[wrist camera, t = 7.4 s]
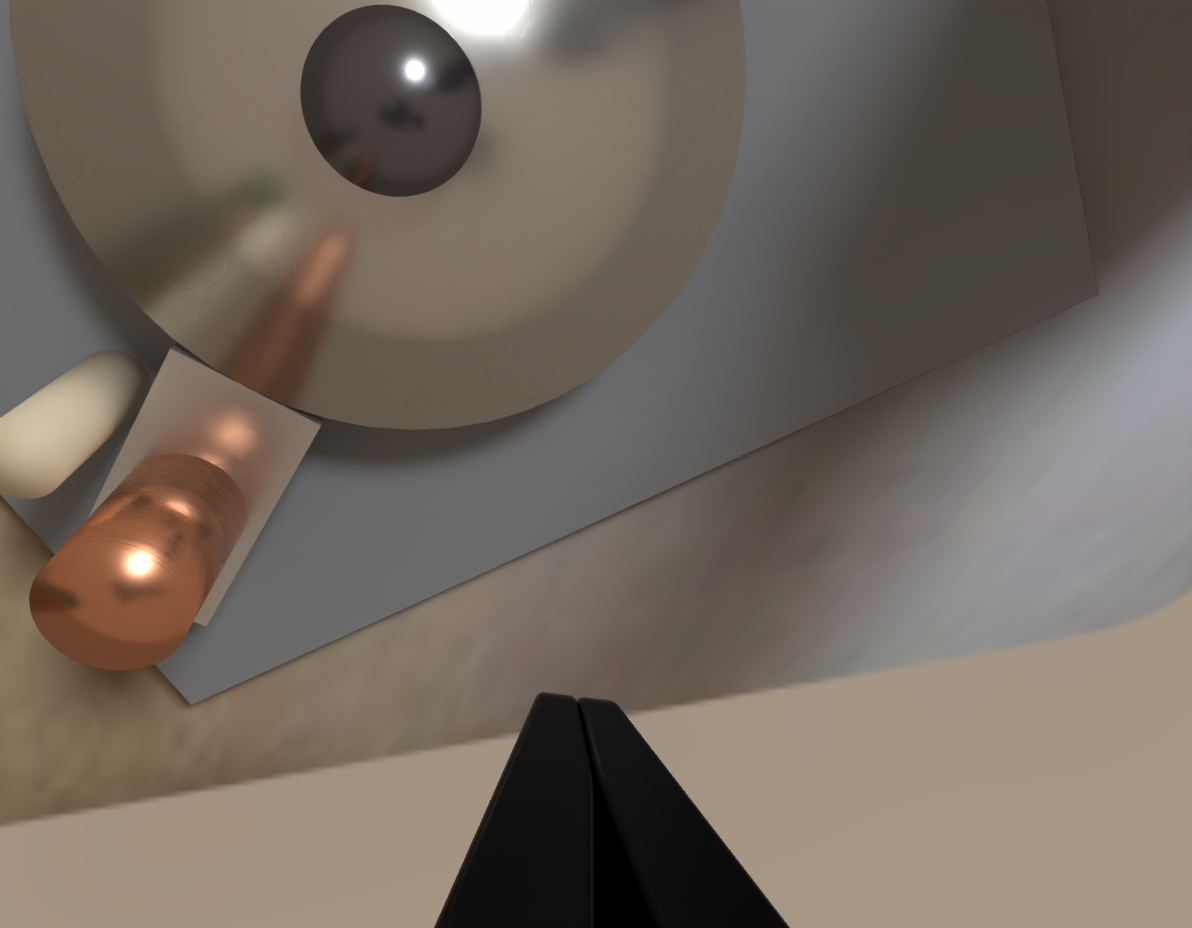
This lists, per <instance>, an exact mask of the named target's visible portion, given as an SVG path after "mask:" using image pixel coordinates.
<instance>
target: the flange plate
mask: <svg viewBox="0 0 1192 928" xmlns="http://www.w3.org/2000/svg"><path fill="white" fill-rule="evenodd" d="M9 25H10V32H11V39H12V46H13V53H14V60H15V67H16V74H17V80H18V84H19V87H20V91H21V95H22V98H23V102H24V106H25V110H26V113H27V117H28V121H29V124H30V128H31V131H32V134H33V136H34V139H35V141H36V144H37V146H38V149H39V151H40V154H41V156H42V159H43V162H44V164H45V167H46V169H47V172H48V174H49V177H50V179H51V181H52V183H53V185H54V187H55V189H56V190H57V192H58V194H59V196H60V198H61V200H62V202H63V204H64V205H65V207H66V209H67V211H68V213H69V215H70V217H71V218H72V220H73V222H74V224H75V226H76V227H77V229H78V230H79V232H80V233H81V235H82V236H83V237H84V239H85V240H86V242H87V243H88V245H89V246H90V248H91V249H92V250H93V252H94V253H95V255H96V256H97V258H98V259H99V261H100V262H101V264H102V265H103V266H104V268H105V269H106V270H107V271H108V272H109V274H110V275H111V276H112V277H113V278H114V279H115V281H116V282H117V283H118V284H119V285H120V286H121V288H122V289H123V290H124V291H125V292H126V293H127V294H128V296H129V297H130V298H131V299H132V300H133V301H134V303H135V304H136V305H137V306H138V307H139V308H140V309H141V310H143V311H144V312H145V313H146V314H147V315H148V316H149V317H150V318H151V319H152V320H153V321H154V322H155V323H157V324H158V325H159V326H160V327H161V328H162V329H163V330H164V331H165V332H166V333H167V334H168V335H169V336H171V337H172V338H173V339H174V340H176V341H177V343H176V344H175V345H174V346H172V347H171V348H170V350H169V352H168V354H167V356H166V358H165V360H164V362H163V364H162V366H161V368H160V371H159V373H158V375H157V377H156V379H155V381H154V383H153V385H152V387H151V389H150V391H149V393H148V395H147V397H146V399H145V401H144V404H143V406H142V408H141V410H140V412H139V414H138V416H137V418H136V420H135V422H134V424H133V426H132V428H131V430H130V432H129V434H128V437H127V439H126V441H125V443H124V445H123V447H122V449H121V451H120V453H119V455H118V457H117V459H116V461H115V463H114V465H113V467H112V469H111V472H110V474H109V476H108V478H107V480H106V482H105V484H104V486H103V488H102V490H101V492H100V494H99V496H98V498H97V500H96V502H95V505H94V507H93V509H92V511H91V513H90V515H89V517H88V519H87V520H86V521H85V522H84V523H83V525H82V526H81V527H80V528H79V529H78V530H77V531H76V532H75V533H74V534H73V535H72V537H71V538H70V539H69V540H68V541H67V542H66V543H65V544H64V545H63V546H62V547H61V549H60V550H59V551H58V552H57V553H56V554H55V555H54V556H53V557H52V558H51V560H50V561H49V562H48V563H47V564H46V565H45V566H44V567H43V568H42V569H41V571H40V572H39V573H38V574H37V576H36V578H35V579H34V581H33V584H32V587H31V590H30V596H29V598H30V610H31V614H32V617H33V620H34V622H35V624H36V626H37V628H38V629H39V631H40V632H41V633H42V635H43V636H44V637H45V638H46V639H47V640H48V642H49V643H50V644H52V645H53V646H54V647H55V648H56V649H57V650H59V651H60V652H62V653H63V654H65V655H66V656H68V657H70V658H72V659H73V660H76V661H78V662H80V663H83V664H85V665H88V666H91V667H95V668H100V669H105V670H113V671H129V670H137V669H142V668H146V667H149V666H152V665H155V664H157V663H159V662H161V661H163V660H164V659H166V658H167V657H169V656H170V655H171V654H172V653H173V652H174V651H175V650H176V649H177V648H178V647H179V646H180V644H181V643H182V641H183V639H184V637H185V636H186V634H187V632H188V630H189V628H190V627H191V625H192V623H193V622H196V623H198V624H201V625H203V626H205V627H206V626H207V625H208V623H209V621H210V619H211V618H212V616H213V614H214V612H215V611H216V609H217V607H218V605H219V604H220V602H221V600H222V598H223V597H224V595H225V593H226V591H227V590H228V588H229V586H230V584H231V583H232V581H233V579H234V577H235V576H236V574H237V572H238V570H239V569H240V567H241V565H242V563H243V562H244V560H245V558H246V556H247V555H248V553H249V551H250V549H251V548H252V546H253V544H254V542H255V541H256V539H257V537H258V535H259V534H260V532H261V530H262V528H263V527H264V525H265V523H266V521H267V520H268V518H269V516H270V514H271V513H272V511H273V509H274V507H275V506H276V504H277V502H278V500H279V499H280V497H281V495H282V493H283V492H284V490H285V488H286V486H287V485H288V483H289V481H290V479H291V478H292V476H293V474H294V472H295V471H296V469H297V467H298V465H299V464H300V462H301V460H302V458H303V457H304V455H305V453H306V451H307V450H308V448H309V446H310V444H311V443H312V441H313V439H314V437H315V436H316V434H317V432H318V430H319V429H320V427H321V425H322V423H323V421H324V419H325V418H327V419H332V420H337V421H342V422H347V423H352V424H357V425H363V426H368V427H379V428H392V429H405V430H418V429H442V428H454V427H460V426H466V425H472V424H478V423H484V422H489V421H493V420H496V419H500V418H503V417H506V416H510V415H513V414H517V413H520V412H524V411H527V410H529V409H531V408H533V407H536V406H538V405H540V404H543V403H545V402H547V401H550V400H552V399H554V398H557V397H559V396H561V395H563V394H565V393H566V392H568V391H570V390H572V389H573V388H575V387H577V386H578V385H580V384H582V383H583V382H585V381H587V380H589V379H590V378H592V377H594V376H595V375H597V374H598V373H599V372H600V371H602V370H603V369H604V368H606V367H607V366H608V365H610V364H611V363H612V362H613V361H615V360H616V359H617V358H619V357H620V356H621V355H623V354H624V353H625V352H626V351H628V350H629V349H630V348H631V347H632V346H633V345H634V344H635V343H636V342H637V341H638V340H639V339H640V338H641V337H642V336H643V335H644V334H645V333H646V332H647V331H648V330H649V329H650V328H651V327H652V326H653V325H654V324H655V323H656V321H657V320H658V319H659V318H660V316H661V315H662V314H663V313H664V311H665V310H666V309H667V307H668V306H669V305H670V304H671V302H672V301H673V300H674V299H675V297H676V296H677V295H678V294H679V292H680V291H681V289H682V288H683V286H684V284H685V283H686V281H687V280H688V278H689V276H690V275H691V273H692V271H693V270H694V268H695V266H696V265H697V263H698V261H699V260H700V258H701V256H702V255H703V253H704V250H705V248H706V246H707V244H708V242H709V239H710V237H711V235H712V233H713V231H714V228H715V226H716V224H717V222H718V219H719V217H720V215H721V212H722V209H723V206H724V202H725V199H726V196H727V193H728V190H729V187H730V183H731V180H732V177H733V174H734V170H735V165H736V160H737V154H738V149H739V144H740V138H741V133H742V128H743V117H744V103H745V88H746V60H745V40H744V24H743V18H742V12H741V6H740V0H9Z"/></svg>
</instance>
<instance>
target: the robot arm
mask: <svg viewBox="0 0 1192 928" xmlns="http://www.w3.org/2000/svg"><path fill="white" fill-rule="evenodd" d="M434 928H790V927H789V926H788V925H787V923H786V922H785V921H784V919H783V918H782V917H781V916H780V914H779V913H778V912H777V910H776V909H775V908H774V907H773V905H772V904H771V903H770V901H769V900H768V899H767V897H765V895H764V894H763V892H762V891H761V890H760V888H759V887H758V886H757V885H756V883H755V882H754V881H753V879H752V878H751V877H750V875H749V874H748V873H747V872H746V870H745V869H744V868H743V866H742V865H741V864H740V863H739V861H738V860H737V859H736V857H735V856H734V855H733V853H732V852H731V851H730V850H729V848H728V847H727V846H726V844H725V843H724V842H723V841H722V839H721V838H720V837H719V835H718V834H717V833H716V831H715V830H714V829H713V828H712V826H711V825H710V824H709V822H708V821H707V820H706V819H705V817H704V816H703V815H702V813H701V812H700V811H699V809H698V808H697V807H696V806H695V804H694V803H693V802H692V800H691V799H690V798H689V797H688V795H687V794H686V793H685V791H684V790H683V789H682V788H681V786H680V785H679V784H678V782H677V781H676V780H675V778H674V777H673V776H672V775H671V773H670V772H669V771H668V769H667V768H666V767H665V765H664V764H663V763H662V762H661V760H660V759H659V758H658V756H657V755H656V754H655V753H654V751H653V750H652V749H651V748H650V746H649V745H648V744H647V742H646V741H645V740H644V738H643V737H642V736H641V734H640V733H639V732H638V731H637V729H636V728H635V727H634V725H633V724H632V723H631V721H630V720H629V719H628V718H627V716H626V715H625V714H624V712H623V711H622V710H621V709H620V707H619V706H618V705H617V704H616V703H614V702H613V701H610V700H602V699H594V698H586V697H581V698H580V699H578V700H577V701H576V699H574V698H573V697H572V696H569V695H561V694H553V693H545V692H542V693H539V694H538V695H537V697H536V698H535V701H534V703H533V705H532V707H531V710H530V712H529V714H528V716H527V719H526V721H525V723H524V725H523V728H522V730H521V732H520V735H519V737H518V739H517V742H516V744H515V746H514V748H513V750H512V753H511V755H510V757H509V759H508V762H507V764H506V766H505V768H504V771H503V773H502V776H501V778H500V780H499V782H498V784H497V787H496V789H495V791H494V793H493V796H492V798H491V800H490V803H489V805H488V807H487V809H486V812H485V814H484V816H483V818H482V821H481V823H480V825H479V827H478V830H477V832H476V834H475V837H474V839H473V841H472V843H471V846H470V848H469V850H468V852H467V855H466V857H465V859H464V862H463V864H462V866H461V868H460V870H459V873H458V875H457V877H456V880H455V882H454V884H453V886H452V888H451V891H450V893H449V895H448V898H447V900H446V902H445V904H444V907H443V909H442V911H441V913H440V916H439V918H438V920H437V922H436V925H435V927H434Z"/></svg>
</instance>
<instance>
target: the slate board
mask: <svg viewBox="0 0 1192 928" xmlns="http://www.w3.org/2000/svg"><path fill="white" fill-rule="evenodd" d="M740 6H741V12H742V18H743V24H744V40H745V60H746V88H745V103H744V117H743V128H742V133H741V138H740V144H739V149H738V154H737V160H736V165H735V170H734V174H733V177H732V180H731V183H730V187H729V190H728V193H727V196H726V199H725V202H724V206H723V209H722V212H721V215H720V217H719V219H718V222H717V224H716V226H715V228H714V231H713V233H712V235H711V237H710V239H709V242H708V244H707V246H706V248H705V250H704V253H703V255H702V256H701V258H700V260H699V261H698V263H697V265H696V266H695V268H694V270H693V271H692V273H691V275H690V276H689V278H688V280H687V281H686V283H685V284H684V286H683V288H682V289H681V291H680V292H679V294H678V295H677V296H676V297H675V299H674V300H673V301H672V302H671V304H670V305H669V306H668V307H667V309H666V310H665V311H664V313H663V314H662V315H661V316H660V318H659V319H658V320H657V321H656V323H655V324H654V325H653V326H652V327H651V328H650V329H649V330H648V331H647V332H646V333H645V334H644V335H643V336H642V337H641V338H640V339H639V340H638V341H637V342H636V343H635V344H634V345H633V346H632V347H631V348H630V349H629V350H628V351H626V352H625V353H624V354H623V355H621V356H620V357H619V358H617V359H616V360H615V361H613V362H612V363H611V364H610V365H608V366H607V367H606V368H604V369H603V370H602V371H600V372H599V373H598V374H597V375H595V376H594V377H592V378H590V379H589V380H587V381H585V382H583V383H582V384H580V385H578V386H577V387H575V388H573V389H572V390H570V391H568V392H566V393H565V394H563V395H561V396H559V397H557V398H554V399H552V400H550V401H547V402H545V403H543V404H540V405H538V406H536V407H533V408H531V409H529V410H527V411H524V412H520V413H517V414H513V415H510V416H506V417H503V418H500V419H496V420H493V421H489V422H484V423H478V424H472V425H466V426H460V427H454V428H442V429H418V430H405V429H392V428H379V427H368V426H363V425H357V424H352V423H347V422H342V421H337V420H332V419H327V418H325V419H324V421H323V423H322V425H321V427H320V429H319V430H318V432H317V434H316V436H315V437H314V439H313V441H312V443H311V444H310V446H309V448H308V450H307V451H306V453H305V455H304V457H303V458H302V460H301V462H300V464H299V465H298V467H297V469H296V471H295V472H294V474H293V476H292V478H291V479H290V481H289V483H288V485H287V486H286V488H285V490H284V492H283V493H282V495H281V497H280V499H279V500H278V502H277V504H276V506H275V507H274V509H273V511H272V513H271V514H270V516H269V518H268V520H267V521H266V523H265V525H264V527H263V528H262V530H261V532H260V534H259V535H258V537H257V539H256V541H255V542H254V544H253V546H252V548H251V549H250V551H249V553H248V555H247V556H246V558H245V560H244V562H243V563H242V565H241V567H240V569H239V570H238V572H237V574H236V576H235V577H234V579H233V581H232V583H231V584H230V586H229V588H228V590H227V591H226V593H225V595H224V597H223V598H222V600H221V602H220V604H219V605H218V607H217V609H216V611H215V612H214V614H213V616H212V618H211V619H210V621H209V623H208V625H207V626H206V627H205V626H203V625H201V624H198V623H196V622H193V623H192V625H191V627H190V628H189V630H188V632H187V634H186V636H185V637H184V639H183V641H182V643H181V644H180V646H179V647H178V648H177V649H176V650H175V651H174V652H173V653H172V654H171V655H170V656H169V657H167V658H166V659H164V660H163V661H161V662H159V663H157V664H155V666H156V667H157V668H158V669H159V670H160V671H161V672H162V673H163V674H164V675H165V677H166V678H167V679H168V680H169V681H170V682H171V683H172V684H173V685H174V686H175V688H176V689H177V690H178V691H179V692H180V693H181V694H182V695H183V696H184V697H185V699H186V700H187V701H188V702H189V703H190V704H191V705H193V704H195V703H197V702H199V701H202V700H204V699H206V698H208V697H210V696H213V695H215V694H217V693H219V692H221V691H224V690H226V689H228V688H230V687H232V686H235V685H237V684H239V683H241V682H243V681H246V680H248V679H250V678H252V677H255V676H257V675H259V674H261V673H263V672H266V671H268V670H270V669H272V668H274V667H277V666H279V665H281V664H283V663H285V662H288V661H290V660H292V659H294V658H296V657H299V656H301V655H303V654H305V653H307V652H310V651H312V650H314V649H316V648H319V647H321V646H323V645H325V644H327V643H330V642H332V641H334V640H336V639H338V638H341V637H343V636H345V635H347V634H349V633H352V632H354V631H356V630H358V629H360V628H363V627H365V626H367V625H369V624H372V623H374V622H376V621H378V620H380V619H383V618H385V617H387V616H389V615H391V614H394V613H396V612H398V611H400V610H402V609H405V608H407V607H409V606H411V605H413V604H416V603H418V602H420V601H422V600H425V599H427V598H429V597H431V596H433V595H436V594H438V593H440V592H442V591H444V590H447V589H449V588H451V587H453V586H455V585H458V584H460V583H462V582H464V581H466V580H469V579H471V578H473V577H475V576H477V575H480V574H482V573H484V572H486V571H489V570H491V569H493V568H495V567H497V566H500V565H502V564H504V563H506V562H508V561H511V560H513V559H515V558H517V557H519V556H522V555H524V554H526V553H528V552H530V551H533V550H535V549H537V548H539V547H542V546H544V545H546V544H548V543H550V542H553V541H555V540H557V539H559V538H561V537H564V536H566V535H568V534H570V533H572V532H575V531H577V530H579V529H581V528H583V527H586V526H588V525H590V524H592V523H595V522H597V521H599V520H601V519H603V518H606V517H608V516H610V515H612V514H614V513H617V512H619V511H621V510H623V509H625V508H628V507H630V506H632V505H634V504H636V503H639V502H641V501H643V500H645V499H647V498H650V497H652V496H654V495H656V494H659V493H661V492H663V491H665V490H667V489H670V488H672V487H674V486H676V485H678V484H681V483H683V482H685V481H687V480H689V479H692V478H694V477H696V476H698V475H700V474H703V473H705V472H707V471H709V470H712V469H714V468H716V467H718V466H720V465H723V464H725V463H727V462H729V461H731V460H734V459H736V458H738V457H740V456H742V455H745V454H747V453H749V452H751V451H753V450H756V449H758V448H760V447H762V446H765V445H767V444H769V443H771V442H773V441H776V440H778V439H780V438H782V437H784V436H787V435H789V434H791V433H793V432H795V431H798V430H800V429H802V428H804V427H806V426H809V425H811V424H813V423H815V422H818V421H820V420H822V419H824V418H826V417H829V416H831V415H833V414H835V413H837V412H840V411H842V410H844V409H846V408H848V407H851V406H853V405H855V404H857V403H859V402H862V401H864V400H866V399H868V398H870V397H873V396H875V395H877V394H879V393H882V392H884V391H886V390H888V389H890V388H893V387H895V386H897V385H899V384H901V383H904V382H906V381H908V380H910V379H912V378H915V377H917V376H919V375H921V374H923V373H926V372H928V371H930V370H932V369H935V368H937V367H939V366H941V365H943V364H946V363H948V362H950V361H952V360H954V359H957V358H959V357H961V356H963V355H965V354H968V353H970V352H972V351H974V350H976V349H979V348H981V347H983V346H985V345H988V344H990V343H992V342H994V341H996V340H999V339H1001V338H1003V337H1005V336H1007V335H1010V334H1012V333H1014V332H1016V331H1018V330H1021V329H1023V328H1025V327H1027V326H1029V325H1032V324H1034V323H1036V322H1038V321H1040V320H1043V319H1045V318H1047V317H1049V316H1052V315H1054V314H1056V313H1058V312H1060V311H1063V310H1065V309H1067V308H1069V307H1071V306H1074V305H1076V304H1078V303H1080V302H1082V301H1085V300H1087V299H1089V298H1091V297H1093V296H1096V295H1098V288H1097V283H1096V277H1095V271H1094V265H1093V260H1092V254H1091V248H1090V243H1089V237H1088V231H1087V225H1086V220H1085V214H1084V208H1083V203H1082V197H1081V191H1080V185H1079V180H1078V174H1077V168H1076V163H1075V157H1074V151H1073V145H1072V140H1071V134H1070V128H1069V123H1068V117H1067V111H1066V105H1065V100H1064V94H1063V88H1062V83H1061V77H1060V71H1059V65H1058V60H1057V54H1056V48H1055V43H1054V37H1053V31H1052V25H1051V20H1050V14H1049V8H1048V3H1047V0H740ZM176 343H177V341H176V340H174V339H173V338H172V337H171V336H169V335H168V334H167V333H166V332H165V331H164V330H163V329H162V328H161V327H160V326H159V325H158V324H157V323H155V322H154V321H153V320H152V319H151V318H150V317H149V316H148V315H147V314H146V313H145V312H144V311H143V310H141V309H140V308H139V307H138V306H137V305H136V304H135V303H134V301H133V300H132V299H131V298H130V297H129V296H128V294H127V293H126V292H125V291H124V290H123V289H122V288H121V286H120V285H119V284H118V283H117V282H116V281H115V279H114V278H113V277H112V276H111V275H110V274H109V272H108V271H107V270H106V269H105V268H104V266H103V265H102V264H101V262H100V261H99V259H98V258H97V256H96V255H95V253H94V252H93V250H92V249H91V248H90V246H89V245H88V243H87V242H86V240H85V239H84V237H83V236H82V235H81V233H80V232H79V230H78V229H77V227H76V226H75V224H74V222H73V220H72V218H71V217H70V215H69V213H68V211H67V209H66V207H65V205H64V204H63V202H62V200H61V198H60V196H59V194H58V192H57V190H56V189H55V187H54V185H53V183H52V181H51V179H50V177H49V174H48V172H47V169H46V167H45V164H44V162H43V159H42V156H41V154H40V151H39V149H38V146H37V144H36V141H35V139H34V136H33V134H32V131H31V128H30V124H29V121H28V117H27V113H26V110H25V106H24V102H23V98H22V95H21V91H20V87H19V84H18V80H17V74H16V67H15V60H14V53H13V46H12V39H11V32H10V25H9V0H0V495H1V496H2V497H3V498H4V499H5V501H6V502H7V503H8V504H9V505H10V506H11V507H12V508H13V509H14V510H15V512H16V513H17V514H18V515H19V516H20V517H21V518H22V519H23V520H24V521H25V523H26V524H27V525H28V526H29V527H30V528H31V529H32V530H33V531H34V532H35V534H36V535H37V536H38V537H39V538H40V539H41V540H42V541H43V542H44V543H45V545H46V546H47V547H48V548H49V549H50V550H51V551H52V552H53V553H54V554H56V553H57V552H58V551H59V550H60V549H61V547H62V546H63V545H64V544H65V543H66V542H67V541H68V540H69V539H70V538H71V537H72V535H73V534H74V533H75V532H76V531H77V530H78V529H79V528H80V527H81V526H82V525H83V523H84V522H85V521H86V520H87V519H88V517H89V515H90V513H91V511H92V509H93V507H94V505H95V502H96V500H97V498H98V496H99V494H100V492H101V490H102V488H103V486H104V484H105V482H106V480H107V478H108V476H109V474H110V472H111V469H112V467H113V465H114V463H115V461H116V459H117V457H118V455H119V453H120V451H121V449H122V447H123V445H124V443H125V441H126V439H127V437H128V434H129V432H130V430H131V428H132V426H133V424H134V422H135V420H136V418H137V416H138V414H139V412H140V410H141V408H142V406H143V404H144V401H145V399H146V397H147V395H148V393H149V391H150V389H151V387H152V385H153V383H154V381H155V379H156V377H157V375H158V373H159V371H160V368H161V366H162V364H163V362H164V360H165V358H166V356H167V354H168V352H169V350H170V348H171V347H172V346H174V345H175V344H176Z"/></svg>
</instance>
